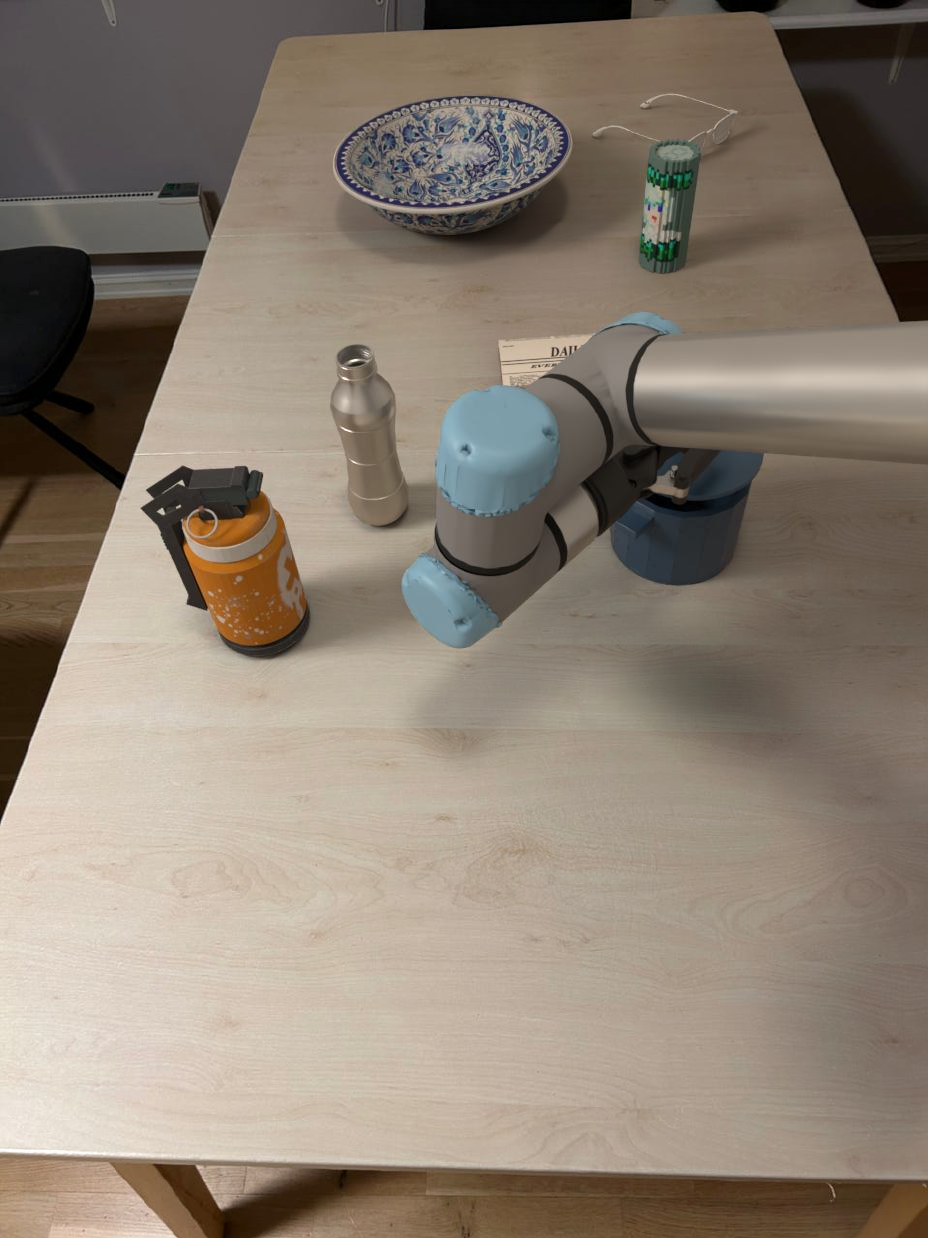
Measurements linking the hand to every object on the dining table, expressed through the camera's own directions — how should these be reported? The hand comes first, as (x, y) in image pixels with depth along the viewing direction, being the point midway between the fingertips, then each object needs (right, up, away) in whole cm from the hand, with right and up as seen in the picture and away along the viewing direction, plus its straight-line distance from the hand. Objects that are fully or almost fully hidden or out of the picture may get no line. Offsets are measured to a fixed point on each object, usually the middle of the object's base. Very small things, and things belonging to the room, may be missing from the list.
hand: (733, 363), depth 84 cm
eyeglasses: (+8, +55, +68) cm, 88 cm away
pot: (-3, -15, +12) cm, 19 cm away
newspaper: (-8, +7, +31) cm, 33 cm away
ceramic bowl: (-26, +38, +56) cm, 73 cm away
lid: (-3, -7, +3) cm, 8 cm away
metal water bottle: (-33, -12, +17) cm, 39 cm away
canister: (-45, -24, +8) cm, 51 cm away
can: (+3, +26, +45) cm, 52 cm away
